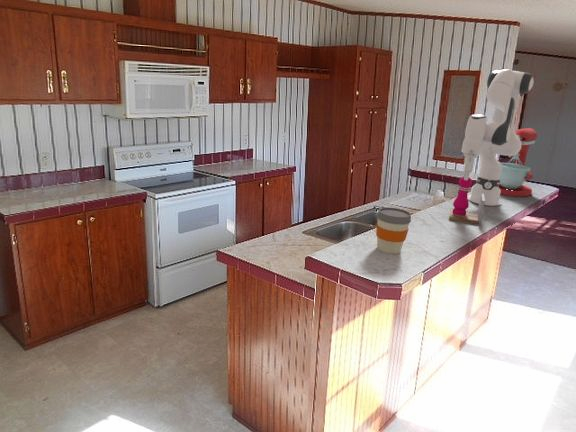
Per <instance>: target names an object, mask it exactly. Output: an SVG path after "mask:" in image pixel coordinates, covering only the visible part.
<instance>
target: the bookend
mask: <svg viewBox="0 0 576 432" xmlns="http://www.w3.org/2000/svg"><path fill="white" fill-rule="evenodd" d="M484 203H485V198H484V194H482V193H481V198H480V202H479V204H478V208H477V212H475V211H469V210H466V215H457V214H454V213H453V209H454V207H453V208H452V207H451V208H450V210H449V217H448V220H449V221H452V222H458V223H464V224H469V225H470V224H471V225H475V226H480V224H481V221H482V216H483V213H484V207H485V205H484Z"/></svg>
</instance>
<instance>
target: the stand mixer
mask: <svg viewBox="0 0 576 432" xmlns="http://www.w3.org/2000/svg"><path fill="white" fill-rule="evenodd" d="M515 133H516V135H517V137H518V138H519V139H520V141H521V149H520V151H519V152H518V153H517V154H516V155H514V156H512V157H511V159H510V160H509V161H507V162H500V163H501V165H502V171H501V175H500V184H499V186H498V187H499V189H500V190H501V192H500V195H502V194H504V195H503V196H507V195H509V196H508V197H514V196H527V197H529V195H530V196H531V195H532V193H533V190H532V187H529V186H527V185H524V183H525V182H526V180H527V181H528V180H532V179H533V174H532V173H531V167H529V166H526V165H525V164H526V159H527V155H528V152H529V148H530V145H533V144H536V139H537V135H538V133H537V131H536V130H535V129H533V128H532V127H528V128H519V129H517V130H515ZM506 189H508V190H506ZM511 190H513V191H511Z"/></svg>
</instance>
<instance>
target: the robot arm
mask: <svg viewBox="0 0 576 432" xmlns="http://www.w3.org/2000/svg"><path fill="white" fill-rule="evenodd" d="M486 86H487V91H486V100H487V102H488V103H489V104H490V106H492V107H494V111H493V114H492V117H491V120H492V122H491V121H489V122H488V120H487V119H488V118H487V115H485V114H480V113H479V114H477V113H475V114H471V115H470V116H469V117H468V119H467V123H466V127H465V131H464V139H463V141H462V145H461V150H460V151H461V153H463V157H464V159H463V161H464V162H463V172H464V173H463V175H464V176H463V177H464V180H468V177H469V176H470V173H472V172H473V168H474V164H475V158H478V157H479V160H480V166H479V172H478V175H477V177H476V182H475V184H473V186H472V187H471V188H470V193H469V195H467V198H468V202H472V203H475V204H478V205H479V202H480V198H481V193H482V194H484V198H485V203H484V206H489V207H490V206H502V205H503V203H502V202H501V201H500V196H501V194H500V192H501V190H500V189H499V187H498V186H499V184H500V175H501V171H502V165H501V163H502V162H500V161H499V160H498V159H497V158H496V155H501V156H505V157H507V156H508V157H509V156H510V157H511V156H512V157H513V156H514V155H516V154H517V153H518V152H519V151H520V149H521V141H520V139H519V138H518V137H517V135H516V133H515V131H516V130H515V129H516V128H515V121H516V116H517V112H518V109H519V105H520V98H521V97H523V96H524V95H525V94H528V93H529V92H530V91H531V89H532V88H533V86H534V76H533V73H530V72H524V71H518V70H511V69H507V68H506V69H501V70H499V69H496V70H493V71H491V72H490V73H489V75H488V76H487V80H486ZM469 178H470V177H469Z"/></svg>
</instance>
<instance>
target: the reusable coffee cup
mask: <svg viewBox="0 0 576 432" xmlns="http://www.w3.org/2000/svg"><path fill="white" fill-rule="evenodd" d="M376 219H377V223H376V227H375V228H376V231H375V233H376V234H375V235H376V238H377V239H376V243H377V244H376V245H377V246H376V248H377V250H378V251H380V252H382V253H384V254H390V255H391V254H392V255H393V254H394V255H395V254H396V255H397V254H399V253H401V252H402V249H403V245H404V241H406V238H407V235H408V232H409V225H410V223H411V221H412V220H411V219H412V213H411V212H410V211H407V210H406V209H405V210H404V209H400V208H397V207H380V208H379V209H378V211H377V216H376Z"/></svg>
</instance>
